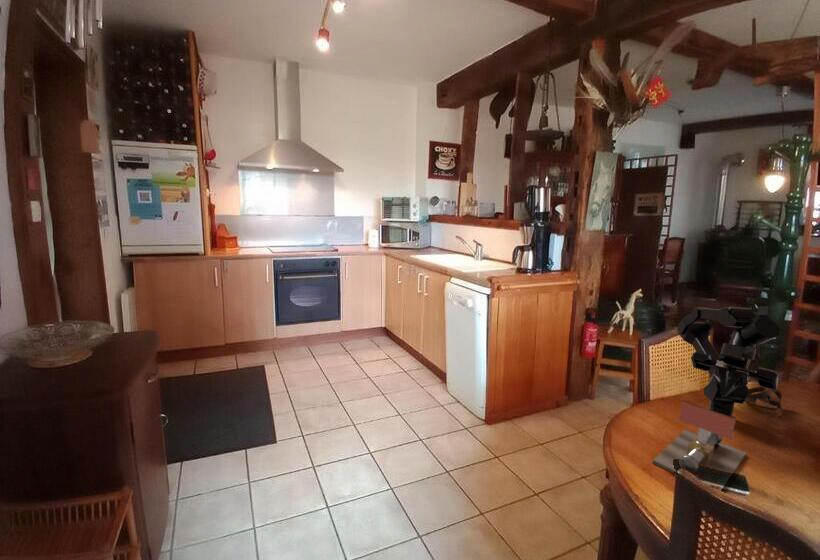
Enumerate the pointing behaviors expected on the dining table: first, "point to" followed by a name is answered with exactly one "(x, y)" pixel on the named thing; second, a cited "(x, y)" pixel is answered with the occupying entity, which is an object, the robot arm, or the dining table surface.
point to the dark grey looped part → (766, 397)
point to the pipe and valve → (700, 453)
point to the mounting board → (721, 460)
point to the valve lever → (707, 421)
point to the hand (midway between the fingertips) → (722, 396)
